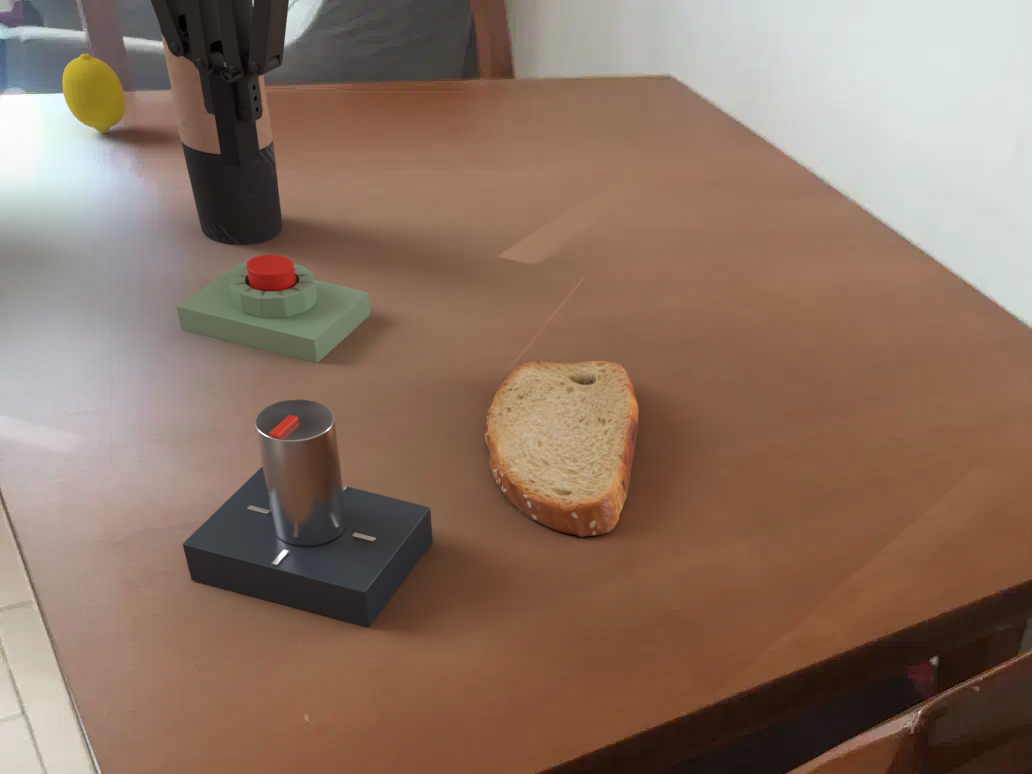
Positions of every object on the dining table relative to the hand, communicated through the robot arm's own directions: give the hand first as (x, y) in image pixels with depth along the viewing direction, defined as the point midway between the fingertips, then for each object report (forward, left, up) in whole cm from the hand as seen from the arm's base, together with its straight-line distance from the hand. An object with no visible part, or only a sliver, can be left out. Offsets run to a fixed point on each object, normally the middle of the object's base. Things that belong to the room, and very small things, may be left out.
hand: (241, 159), depth 86 cm
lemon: (-35, +27, -14) cm, 47 cm away
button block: (+1, 0, -14) cm, 14 cm away
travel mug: (-11, +14, -14) cm, 23 cm away
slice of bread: (+30, -7, -14) cm, 34 cm away
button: (+1, 0, -10) cm, 10 cm away
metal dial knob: (+19, -26, -11) cm, 34 cm away
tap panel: (+19, -26, -14) cm, 35 cm away
